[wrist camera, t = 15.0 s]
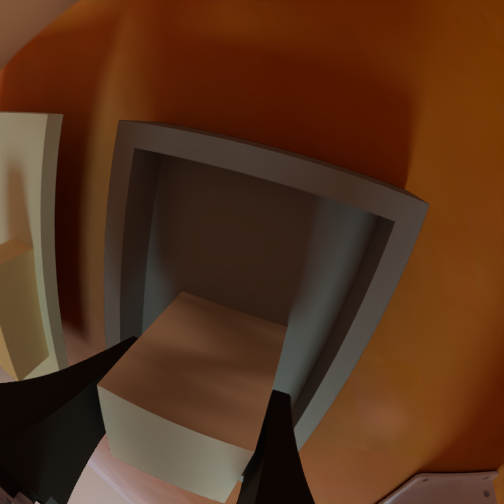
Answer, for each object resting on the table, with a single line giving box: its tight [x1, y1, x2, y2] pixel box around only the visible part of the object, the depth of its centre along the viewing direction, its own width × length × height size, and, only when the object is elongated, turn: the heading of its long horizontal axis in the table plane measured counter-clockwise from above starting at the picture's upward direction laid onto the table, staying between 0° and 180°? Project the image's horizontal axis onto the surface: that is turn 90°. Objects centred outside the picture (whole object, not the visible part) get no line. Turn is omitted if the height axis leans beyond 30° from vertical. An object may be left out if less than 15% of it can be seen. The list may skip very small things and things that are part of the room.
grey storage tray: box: [104, 120, 429, 482], centre depth 12 cm, size 10×17×2 cm, turn 167°
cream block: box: [97, 291, 287, 503], centre depth 10 cm, size 4×4×6 cm
